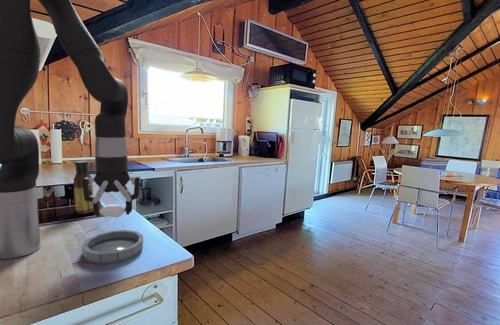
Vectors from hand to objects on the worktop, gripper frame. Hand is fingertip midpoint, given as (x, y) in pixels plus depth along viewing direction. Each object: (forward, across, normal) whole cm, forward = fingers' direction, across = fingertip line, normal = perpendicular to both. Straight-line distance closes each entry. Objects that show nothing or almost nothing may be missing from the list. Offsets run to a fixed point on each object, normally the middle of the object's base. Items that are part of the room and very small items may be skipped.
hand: (113, 214), depth 71 cm
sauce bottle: (+10, -16, +35) cm, 40 cm away
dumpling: (+1, 0, 0) cm, 1 cm away
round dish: (+10, 0, 0) cm, 10 cm away
